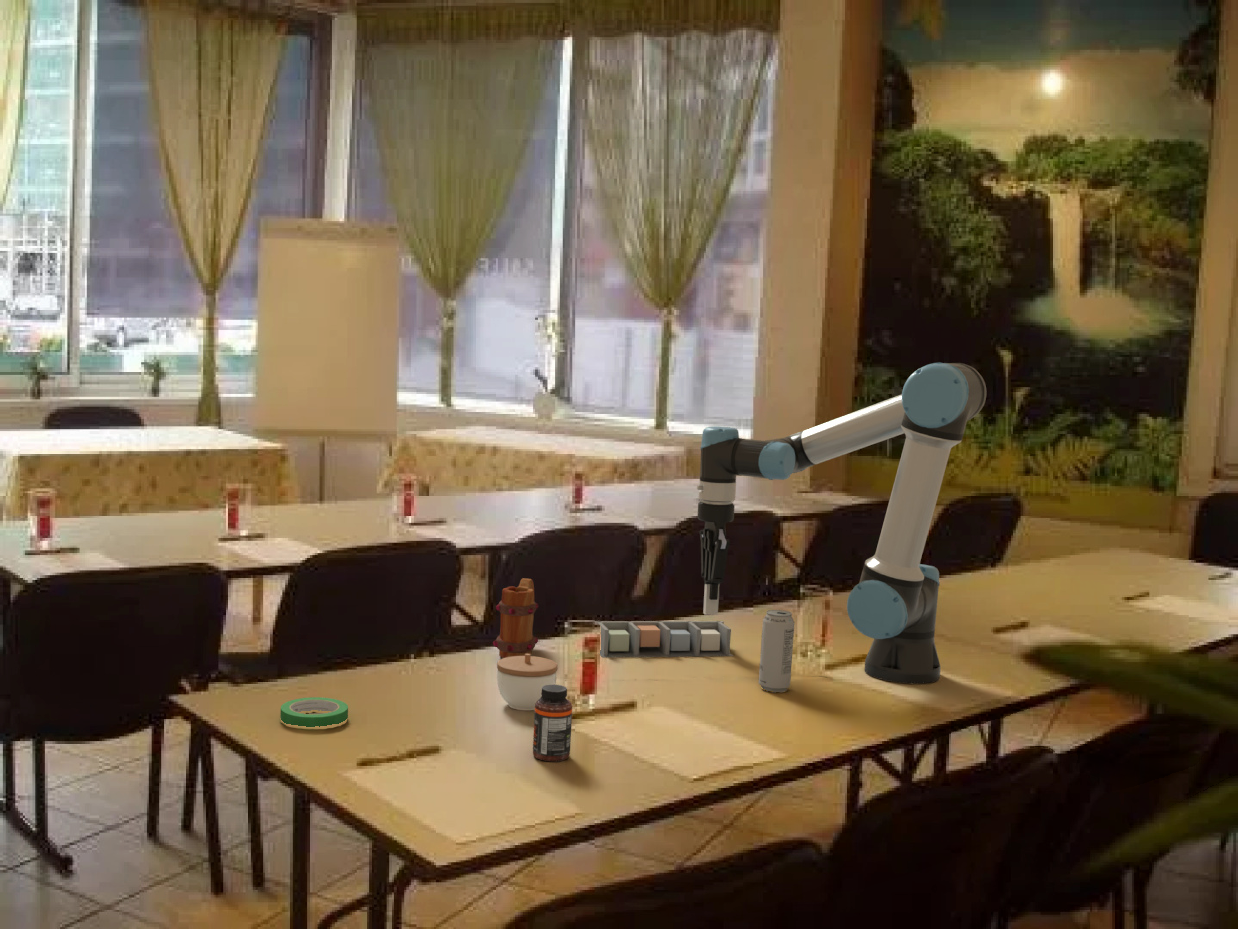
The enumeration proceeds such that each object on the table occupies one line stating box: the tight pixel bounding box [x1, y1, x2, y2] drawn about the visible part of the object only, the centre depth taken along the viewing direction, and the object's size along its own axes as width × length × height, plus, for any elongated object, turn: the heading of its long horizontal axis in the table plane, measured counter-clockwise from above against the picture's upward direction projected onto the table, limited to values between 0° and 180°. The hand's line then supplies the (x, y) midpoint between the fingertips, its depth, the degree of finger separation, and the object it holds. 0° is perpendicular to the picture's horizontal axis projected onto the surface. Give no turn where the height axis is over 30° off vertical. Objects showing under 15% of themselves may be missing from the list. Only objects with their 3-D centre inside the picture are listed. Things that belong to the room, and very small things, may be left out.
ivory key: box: [700, 629, 720, 651], centre depth 297 cm, size 4×4×4 cm
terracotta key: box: [637, 625, 660, 647], centre depth 294 cm, size 4×4×4 cm
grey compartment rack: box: [593, 620, 735, 658], centre depth 295 cm, size 10×28×6 cm, turn 104°
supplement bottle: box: [532, 684, 573, 762], centre depth 226 cm, size 6×6×11 cm
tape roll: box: [279, 696, 349, 727], centre depth 239 cm, size 11×11×3 cm
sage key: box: [608, 630, 630, 651], centre depth 292 cm, size 4×4×4 cm
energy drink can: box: [758, 609, 795, 693], centre depth 273 cm, size 6×6×15 cm
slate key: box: [669, 629, 691, 651], centre depth 296 cm, size 4×4×4 cm
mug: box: [492, 577, 539, 659], centre depth 288 cm, size 15×8×15 cm, turn 168°
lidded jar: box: [496, 653, 558, 711], centre depth 253 cm, size 11×11×9 cm
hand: (710, 614), depth 297 cm, fingers closed
